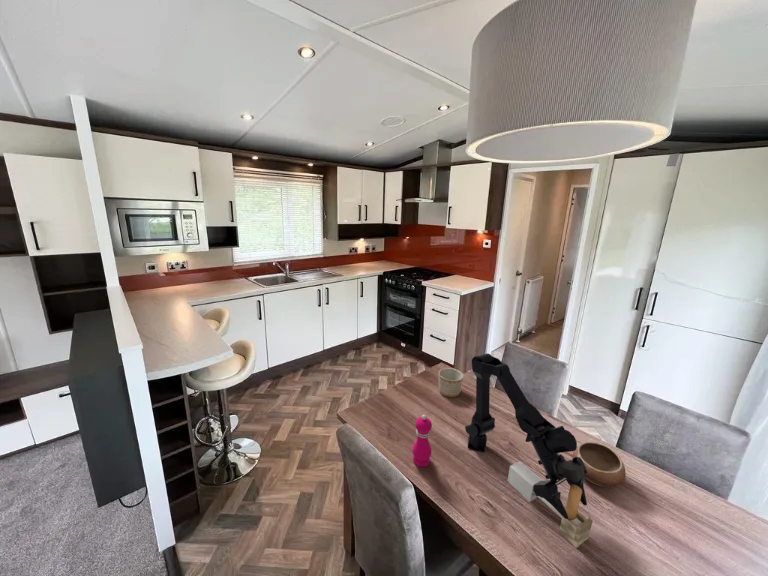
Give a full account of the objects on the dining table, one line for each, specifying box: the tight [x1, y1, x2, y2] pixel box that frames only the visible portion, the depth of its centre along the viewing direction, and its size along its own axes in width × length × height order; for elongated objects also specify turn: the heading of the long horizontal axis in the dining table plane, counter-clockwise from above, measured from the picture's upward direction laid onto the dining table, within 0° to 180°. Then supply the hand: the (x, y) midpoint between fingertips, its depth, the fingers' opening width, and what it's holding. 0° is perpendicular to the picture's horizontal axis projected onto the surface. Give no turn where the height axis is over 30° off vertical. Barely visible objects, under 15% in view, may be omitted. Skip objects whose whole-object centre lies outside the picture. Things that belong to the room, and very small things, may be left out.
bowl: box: [572, 441, 627, 488], centre depth 111 cm, size 16×16×10 cm
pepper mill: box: [411, 414, 432, 468], centre depth 114 cm, size 7×7×20 cm
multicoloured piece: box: [533, 485, 582, 527], centre depth 95 cm, size 16×3×12 cm, turn 28°
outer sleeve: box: [507, 461, 543, 503], centre depth 105 cm, size 9×5×6 cm, turn 28°
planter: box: [438, 367, 464, 398], centre depth 160 cm, size 13×13×10 cm
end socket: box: [559, 511, 594, 549], centre depth 90 cm, size 5×6×6 cm
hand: (576, 511), depth 90 cm, fingers open, 9 cm apart
